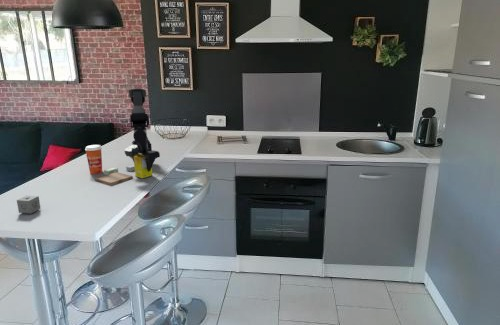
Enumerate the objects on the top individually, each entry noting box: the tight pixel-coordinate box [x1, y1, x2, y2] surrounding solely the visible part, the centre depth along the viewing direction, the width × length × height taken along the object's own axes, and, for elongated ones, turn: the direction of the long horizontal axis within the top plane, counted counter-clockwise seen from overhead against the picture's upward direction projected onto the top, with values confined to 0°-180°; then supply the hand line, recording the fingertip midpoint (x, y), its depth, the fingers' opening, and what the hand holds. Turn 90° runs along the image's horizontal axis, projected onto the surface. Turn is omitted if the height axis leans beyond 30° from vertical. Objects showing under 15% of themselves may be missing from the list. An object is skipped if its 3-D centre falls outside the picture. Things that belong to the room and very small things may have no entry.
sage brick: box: [103, 167, 119, 176], centre depth 179 cm, size 6×3×3 cm, turn 150°
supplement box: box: [133, 154, 153, 180], centre depth 174 cm, size 6×6×11 cm
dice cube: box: [16, 195, 41, 214], centre depth 135 cm, size 5×5×5 cm
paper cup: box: [84, 144, 103, 175], centre depth 180 cm, size 8×8×14 cm
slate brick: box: [125, 164, 135, 172], centre depth 185 cm, size 6×3×3 cm, turn 150°
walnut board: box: [94, 171, 134, 186], centre depth 171 cm, size 12×12×2 cm
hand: (143, 170), depth 174 cm, fingers closed on supplement box, 8 cm apart
